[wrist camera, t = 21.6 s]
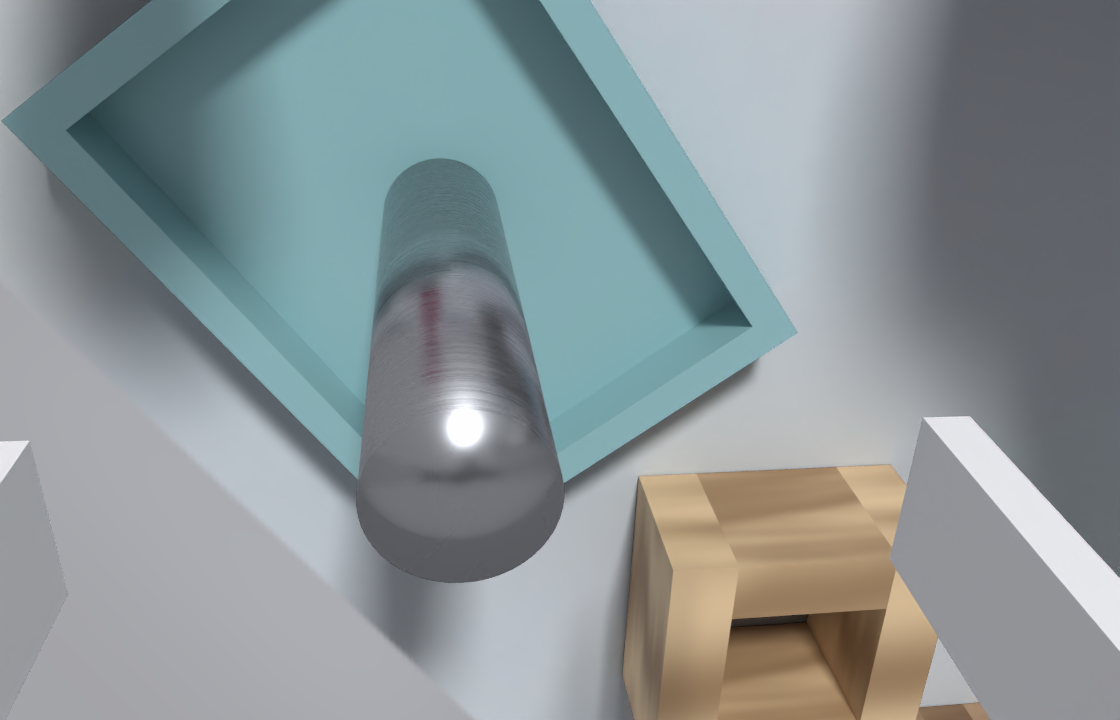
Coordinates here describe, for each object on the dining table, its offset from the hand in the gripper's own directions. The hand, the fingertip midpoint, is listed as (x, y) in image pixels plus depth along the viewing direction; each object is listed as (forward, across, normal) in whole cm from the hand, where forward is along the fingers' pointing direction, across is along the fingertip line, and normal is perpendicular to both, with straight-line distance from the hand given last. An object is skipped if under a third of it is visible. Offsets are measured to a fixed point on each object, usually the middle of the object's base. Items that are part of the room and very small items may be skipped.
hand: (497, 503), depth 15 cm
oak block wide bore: (+15, +10, -14) cm, 23 cm away
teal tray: (+15, -1, 0) cm, 15 cm away
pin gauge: (+14, -1, 0) cm, 14 cm away
